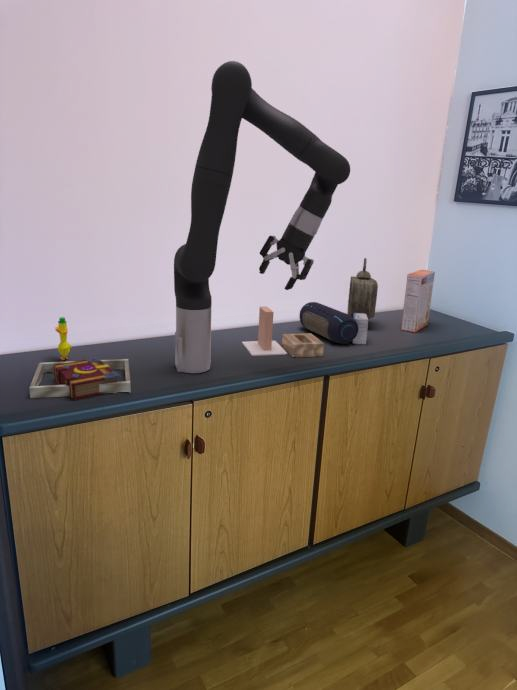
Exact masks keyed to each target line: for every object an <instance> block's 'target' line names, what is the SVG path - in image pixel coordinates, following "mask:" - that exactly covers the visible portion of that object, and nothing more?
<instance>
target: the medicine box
mask: <svg viewBox="0 0 517 690" xmlns="http://www.w3.org/2000/svg"><path fill="white" fill-rule="evenodd" d="M353 319H355V321H356V322H357V324H358V333H357V336H356V337H355V338H354V339H353V340H352V341H351V342H352V344H355V345H363V346H365V345H366V344H367V337H368V328H369V319H368V317H367V314H362V313H354V315H353Z"/></svg>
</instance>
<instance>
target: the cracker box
mask: <svg viewBox="0 0 517 690" xmlns="http://www.w3.org/2000/svg"><path fill="white" fill-rule="evenodd" d="M435 274H436V271H433V270H428V269H419V270H416V271H414V272H411V273H408V274H407V275H406V276H407V277H406V285H405V292H404V293H405V294H404V303H403V309H402V319H401V327H400V330H401V331H403V330H404V332H410V333H417V332H419V331H420V330H422V329H424V328H425V327H426V326H428V325H429V317H430V310H431V303H432V297H433V296H432V295H433V288H434V283H435V282H434V281H435Z"/></svg>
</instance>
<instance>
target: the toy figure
mask: <svg viewBox="0 0 517 690" xmlns="http://www.w3.org/2000/svg"><path fill="white" fill-rule="evenodd" d="M57 322H58V325H57V326H56V327H54V329H55V332H56V333H58V334H59V338H60V343H59V344H58V346H57V352H58V353H59V354H60V355H61V357H59V359H62V360H65V359H68V360H69V358H68V357H69V353H70V351H71V350H72V345H71V344H69V341H68V340H67V339H68V338H67V337H68V330H69V329H68V327H67V322H68V321H67V320H66V317H61V316H60V317H59V320H58V321H57ZM64 358H65V359H64ZM62 360H61V361H62ZM65 361H66V360H65Z"/></svg>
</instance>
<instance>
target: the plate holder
mask: <svg viewBox="0 0 517 690" xmlns="http://www.w3.org/2000/svg"><path fill="white" fill-rule="evenodd" d="M281 340H282V341H281V347H282V348H283V349H284V350H285V351H286V352H287V353H288V354H289V355H290V356H291V357H292V358H293V357H296V358H314V357H317V356H318V357H323V356H324V347H325V343H324V342H323V341H321V340H320V338H318V337H316V336H315V335H314V334H312V333H311V332H310V333H309V332H308V333H307V332H305V333H282V339H281Z"/></svg>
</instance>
